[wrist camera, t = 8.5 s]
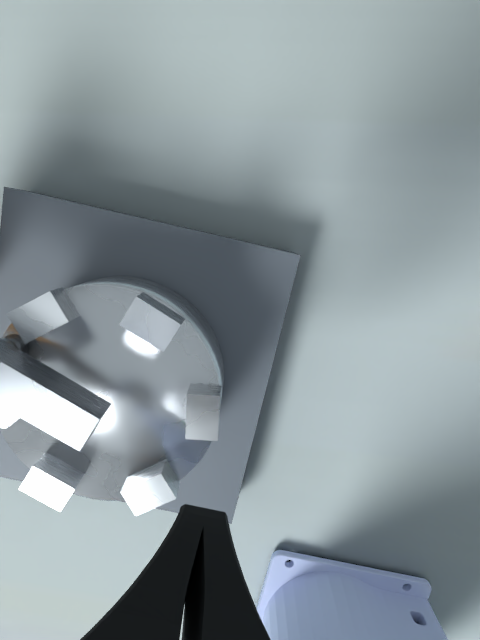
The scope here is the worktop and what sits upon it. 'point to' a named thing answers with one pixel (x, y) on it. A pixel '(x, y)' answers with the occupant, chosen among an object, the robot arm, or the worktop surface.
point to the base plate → (182, 277)
